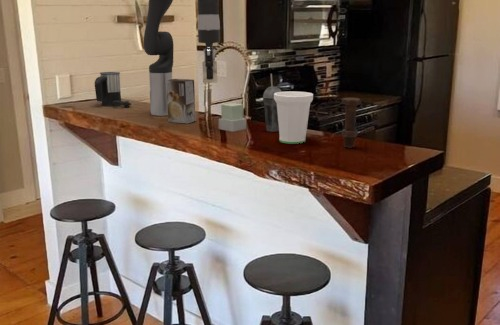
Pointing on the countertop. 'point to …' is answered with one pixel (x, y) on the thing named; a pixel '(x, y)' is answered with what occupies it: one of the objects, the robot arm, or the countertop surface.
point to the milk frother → (109, 89)
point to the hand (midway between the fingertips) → (210, 78)
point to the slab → (232, 124)
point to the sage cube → (232, 111)
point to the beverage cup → (271, 108)
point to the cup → (293, 115)
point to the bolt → (350, 121)
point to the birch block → (213, 73)
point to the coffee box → (181, 100)
